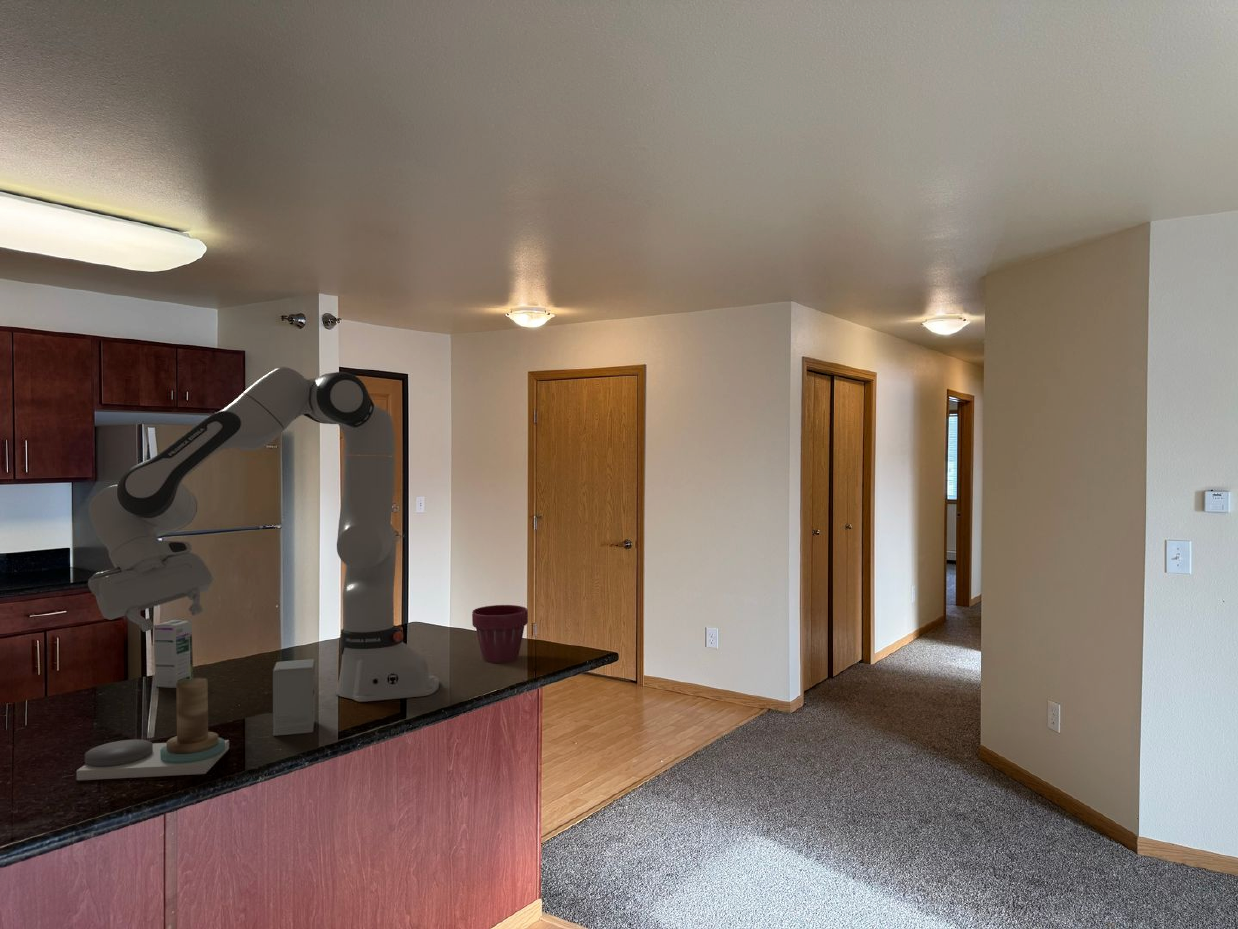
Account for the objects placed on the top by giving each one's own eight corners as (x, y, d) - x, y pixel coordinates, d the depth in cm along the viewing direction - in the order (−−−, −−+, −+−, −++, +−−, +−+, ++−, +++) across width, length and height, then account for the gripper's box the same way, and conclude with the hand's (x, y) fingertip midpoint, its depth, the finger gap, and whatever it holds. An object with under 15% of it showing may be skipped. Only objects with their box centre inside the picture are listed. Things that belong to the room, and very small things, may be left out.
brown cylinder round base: (224, 737, 150) (224, 674, 150) (208, 753, 143) (208, 687, 142) (177, 739, 149) (176, 676, 149) (158, 755, 142) (157, 689, 141)
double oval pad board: (234, 748, 153) (234, 733, 153) (211, 773, 141) (211, 756, 141) (105, 754, 150) (104, 739, 150) (70, 780, 138) (69, 763, 138)
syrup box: (176, 688, 192) (175, 625, 192) (153, 687, 193) (153, 624, 193) (193, 681, 198) (192, 620, 198) (171, 680, 199) (170, 619, 199)
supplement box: (313, 733, 161) (313, 667, 161) (272, 736, 159) (271, 670, 159) (316, 721, 168) (315, 658, 168) (276, 724, 166) (275, 661, 166)
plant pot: (484, 668, 208) (483, 617, 208) (464, 656, 221) (464, 608, 220) (536, 661, 216) (536, 611, 215) (515, 650, 228) (514, 602, 228)
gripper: (88, 567, 152) (122, 631, 149) (197, 540, 169) (229, 596, 166) (79, 585, 156) (111, 648, 153) (186, 556, 172) (218, 612, 169)
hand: (174, 621), depth 159 cm, fingers open, 8 cm apart
